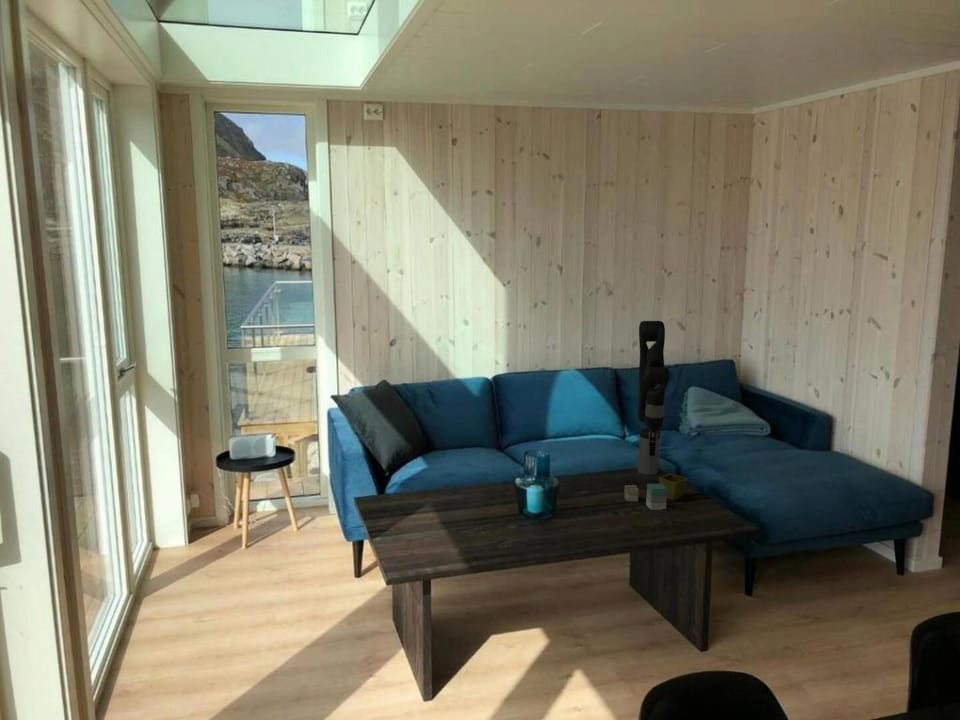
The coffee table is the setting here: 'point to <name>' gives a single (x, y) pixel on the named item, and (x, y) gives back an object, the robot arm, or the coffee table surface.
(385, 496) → the coffee table surface
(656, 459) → the robot arm
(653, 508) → the slab bottom
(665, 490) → the slab top
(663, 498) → the slab middle
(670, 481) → the flower pot
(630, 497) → the birch block
